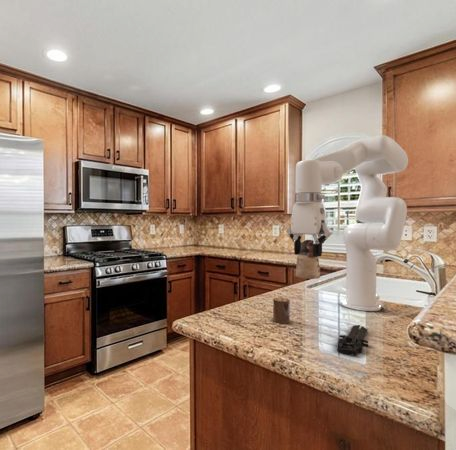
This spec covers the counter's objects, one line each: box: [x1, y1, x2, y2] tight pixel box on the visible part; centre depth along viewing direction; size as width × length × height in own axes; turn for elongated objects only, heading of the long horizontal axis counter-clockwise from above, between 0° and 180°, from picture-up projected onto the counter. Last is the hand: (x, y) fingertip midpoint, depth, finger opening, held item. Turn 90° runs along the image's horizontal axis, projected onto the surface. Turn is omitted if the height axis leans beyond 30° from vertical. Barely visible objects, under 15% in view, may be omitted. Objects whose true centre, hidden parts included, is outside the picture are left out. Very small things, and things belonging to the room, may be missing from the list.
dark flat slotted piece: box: [336, 324, 369, 357], centre depth 85 cm, size 25×6×1 cm, turn 135°
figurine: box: [295, 239, 321, 280], centre depth 100 cm, size 7×7×12 cm
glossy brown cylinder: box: [272, 297, 291, 325], centre depth 101 cm, size 5×5×7 cm
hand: (307, 254), depth 100 cm, fingers closed on figurine, 6 cm apart
